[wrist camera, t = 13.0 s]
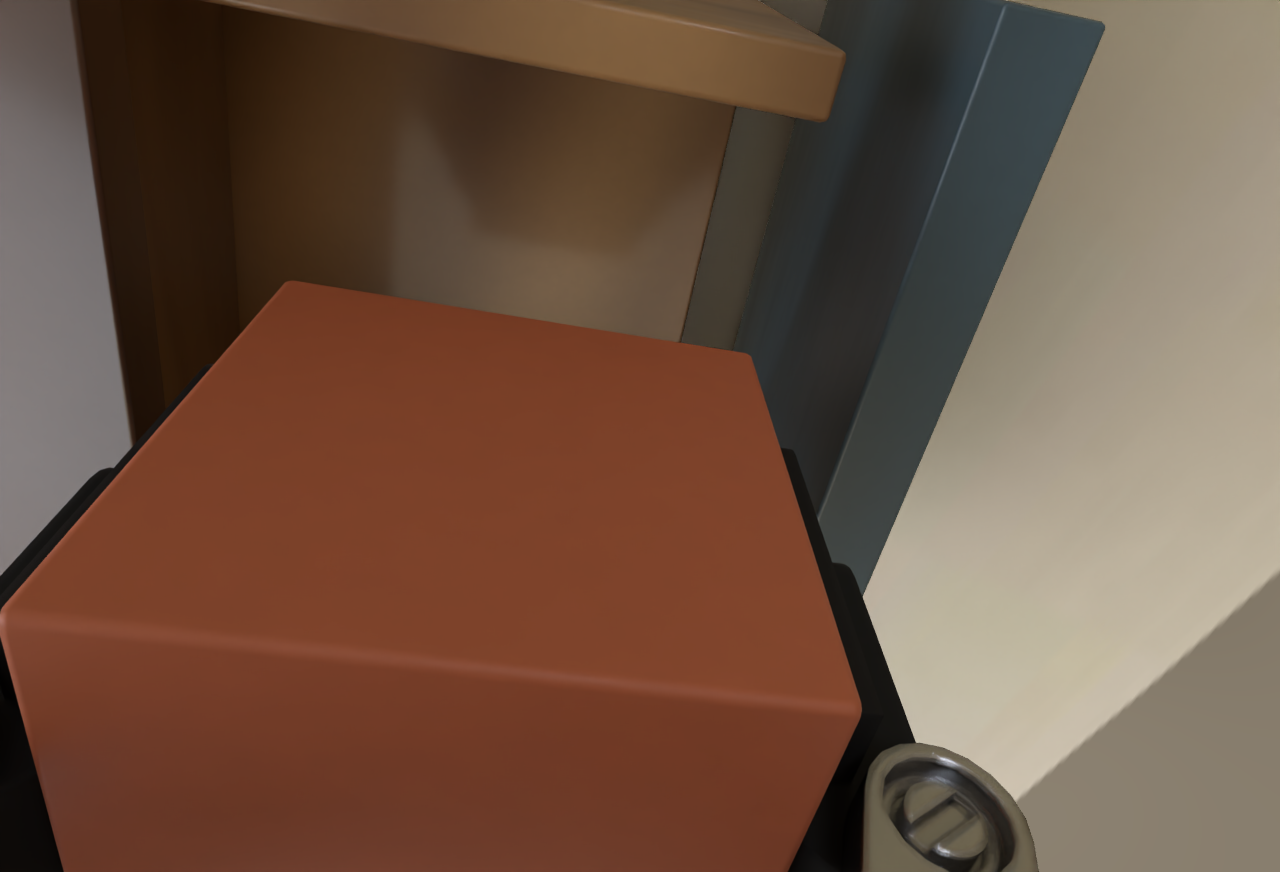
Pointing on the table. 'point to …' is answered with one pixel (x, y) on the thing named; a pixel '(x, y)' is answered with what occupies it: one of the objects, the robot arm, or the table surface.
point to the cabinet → (69, 262)
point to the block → (438, 612)
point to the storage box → (614, 184)
